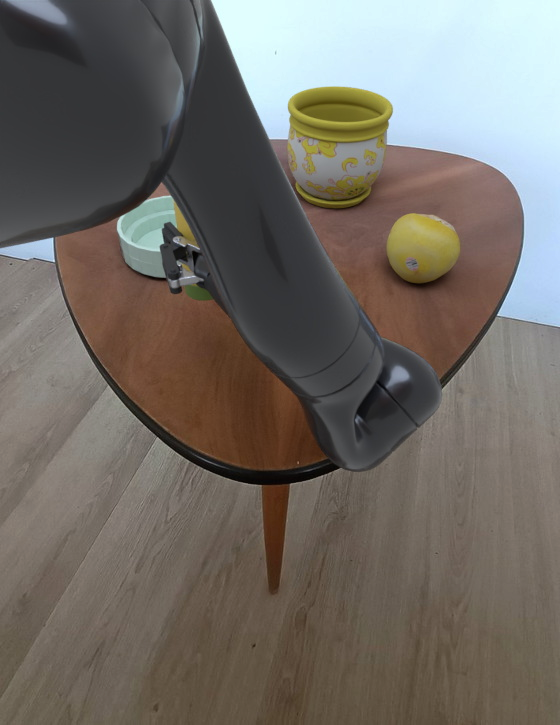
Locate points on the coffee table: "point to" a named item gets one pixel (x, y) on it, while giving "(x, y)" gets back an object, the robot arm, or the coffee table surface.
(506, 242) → the coffee table surface
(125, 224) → the basin
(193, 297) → the corn cob
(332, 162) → the flowerpot
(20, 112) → the robot arm
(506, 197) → the coffee table surface
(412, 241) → the fruit
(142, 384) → the coffee table surface
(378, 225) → the coffee table surface
